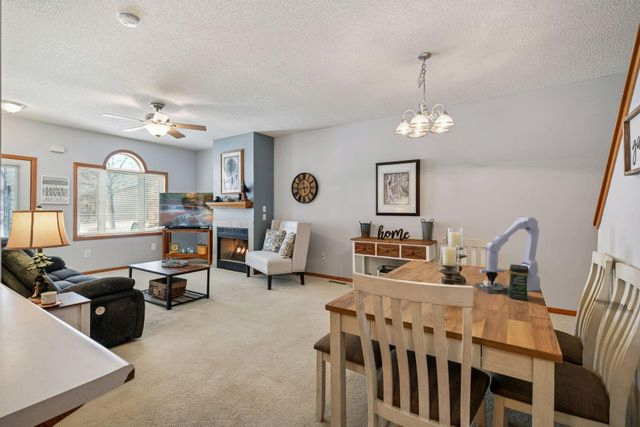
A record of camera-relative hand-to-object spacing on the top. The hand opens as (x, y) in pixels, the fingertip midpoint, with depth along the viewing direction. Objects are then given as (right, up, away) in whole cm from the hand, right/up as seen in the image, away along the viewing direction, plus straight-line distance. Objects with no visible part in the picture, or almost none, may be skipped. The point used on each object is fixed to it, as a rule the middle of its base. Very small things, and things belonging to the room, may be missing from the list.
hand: (491, 284), depth 203 cm
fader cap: (-2, -1, 0) cm, 3 cm away
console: (+2, -3, 0) cm, 4 cm away
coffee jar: (+7, -5, -15) cm, 17 cm away
